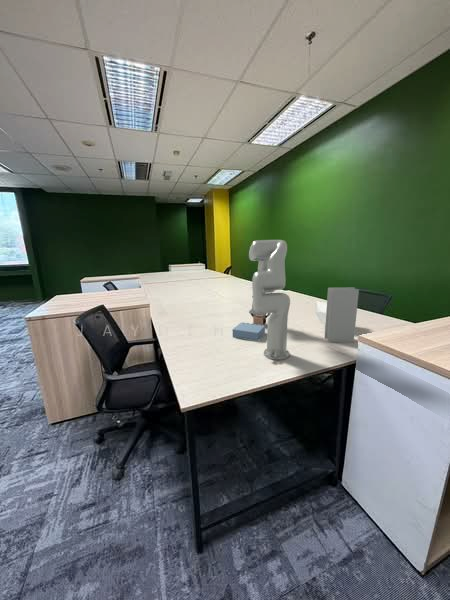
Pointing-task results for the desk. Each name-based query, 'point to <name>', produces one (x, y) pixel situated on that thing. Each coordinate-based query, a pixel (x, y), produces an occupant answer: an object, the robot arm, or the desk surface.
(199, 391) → the desk surface
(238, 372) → the desk surface
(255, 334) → the block
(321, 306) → the folded paper
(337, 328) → the tall grey block
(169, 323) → the desk surface
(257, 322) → the stub
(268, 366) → the desk surface
